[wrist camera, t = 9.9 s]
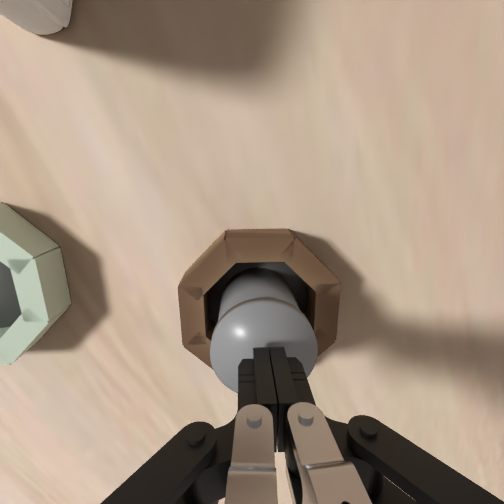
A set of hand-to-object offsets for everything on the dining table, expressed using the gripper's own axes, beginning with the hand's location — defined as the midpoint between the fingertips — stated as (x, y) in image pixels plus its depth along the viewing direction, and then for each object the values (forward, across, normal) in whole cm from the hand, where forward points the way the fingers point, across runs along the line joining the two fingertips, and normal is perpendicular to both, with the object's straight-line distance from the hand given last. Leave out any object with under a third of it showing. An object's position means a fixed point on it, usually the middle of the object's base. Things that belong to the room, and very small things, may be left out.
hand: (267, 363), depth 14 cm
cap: (+7, 0, 0) cm, 7 cm away
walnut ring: (+7, 0, 0) cm, 7 cm away
